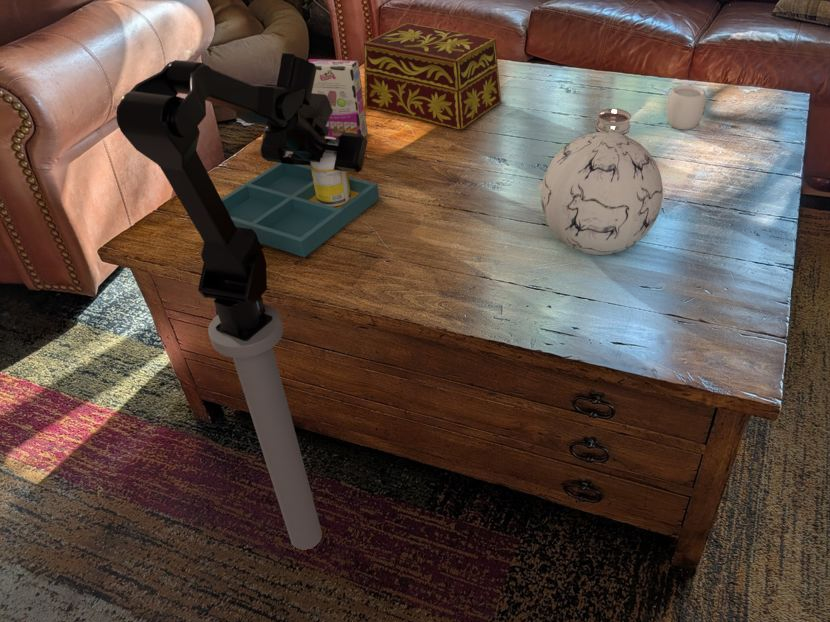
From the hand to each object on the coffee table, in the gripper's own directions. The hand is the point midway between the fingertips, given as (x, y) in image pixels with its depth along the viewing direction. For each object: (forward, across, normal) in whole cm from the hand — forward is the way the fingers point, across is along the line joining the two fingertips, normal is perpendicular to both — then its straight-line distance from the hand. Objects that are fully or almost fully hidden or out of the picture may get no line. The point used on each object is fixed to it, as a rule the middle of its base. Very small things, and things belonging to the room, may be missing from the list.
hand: (332, 164), depth 135 cm
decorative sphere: (+4, -50, +8) cm, 51 cm away
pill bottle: (+4, 0, +6) cm, 7 cm away
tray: (+2, +7, +10) cm, 12 cm away
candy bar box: (+25, +12, -14) cm, 31 cm away
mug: (+44, -62, -33) cm, 83 cm away
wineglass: (+24, -48, -13) cm, 55 cm away
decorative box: (+41, -2, -30) cm, 51 cm away
